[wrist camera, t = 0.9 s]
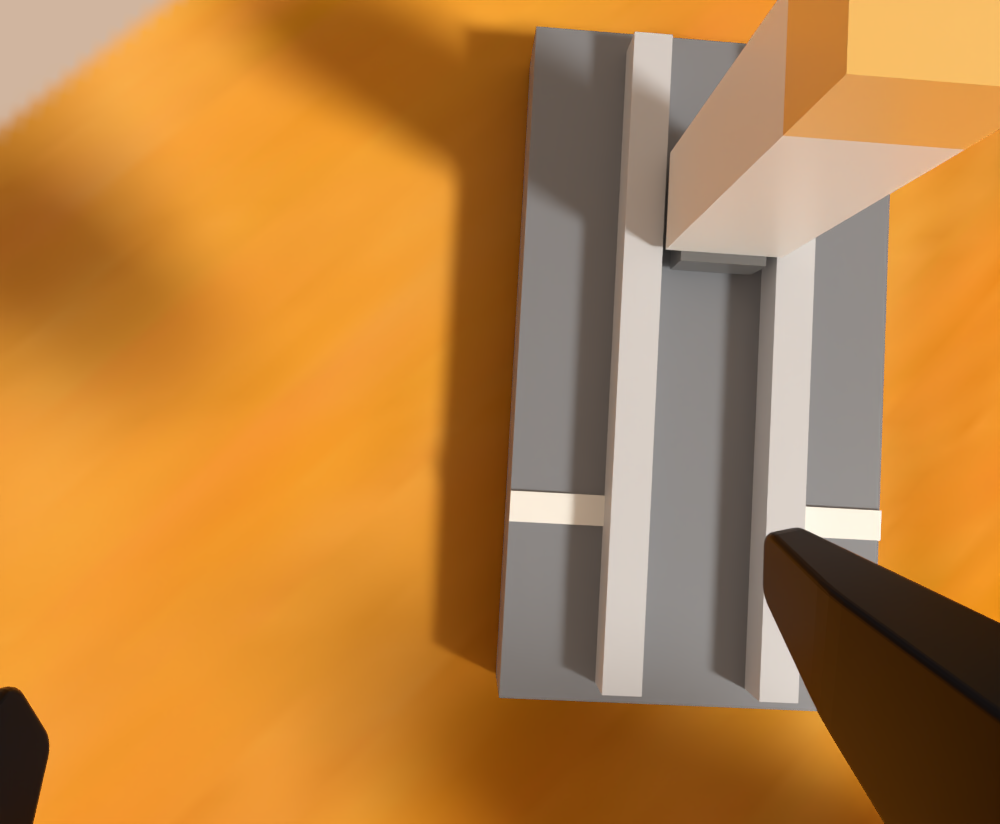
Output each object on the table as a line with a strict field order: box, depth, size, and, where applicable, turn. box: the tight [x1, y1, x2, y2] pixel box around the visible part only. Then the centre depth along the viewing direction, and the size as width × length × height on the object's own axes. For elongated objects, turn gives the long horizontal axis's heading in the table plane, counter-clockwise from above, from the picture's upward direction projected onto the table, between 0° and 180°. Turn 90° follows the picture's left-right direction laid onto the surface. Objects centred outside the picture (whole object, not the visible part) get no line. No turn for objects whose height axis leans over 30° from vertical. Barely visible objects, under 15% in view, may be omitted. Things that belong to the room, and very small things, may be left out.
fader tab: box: [666, 0, 1000, 275], centre depth 15 cm, size 3×3×10 cm
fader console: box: [496, 27, 890, 711], centre depth 21 cm, size 18×10×3 cm, turn 177°
